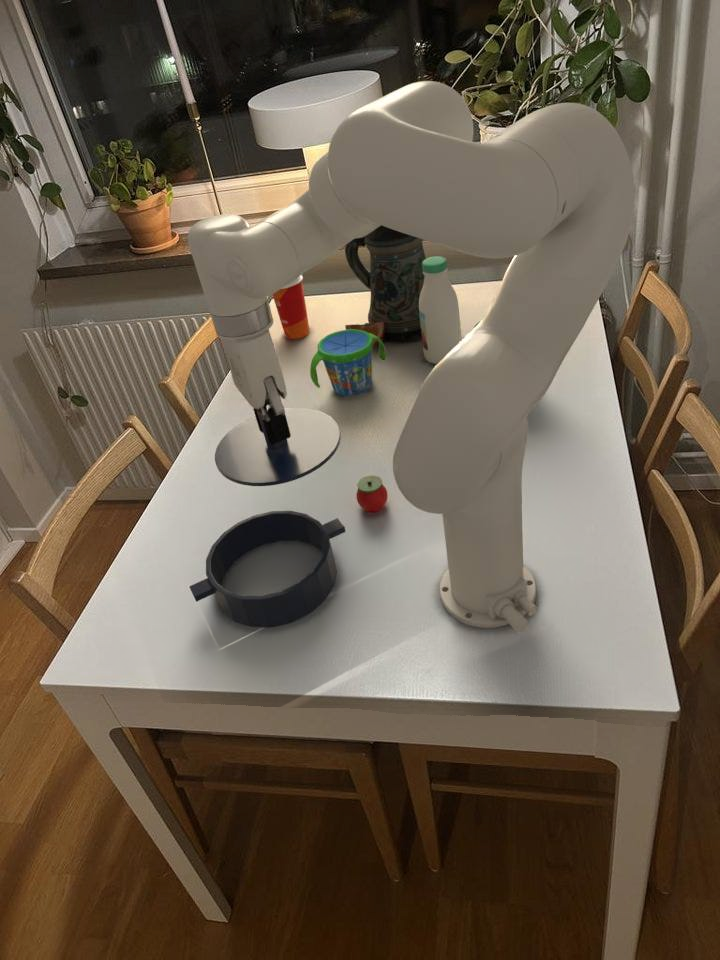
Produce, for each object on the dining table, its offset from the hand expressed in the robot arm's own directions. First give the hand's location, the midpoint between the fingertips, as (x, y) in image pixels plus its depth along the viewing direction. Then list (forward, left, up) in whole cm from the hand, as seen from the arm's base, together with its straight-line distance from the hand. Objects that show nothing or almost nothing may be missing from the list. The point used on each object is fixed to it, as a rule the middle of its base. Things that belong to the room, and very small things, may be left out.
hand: (275, 433), depth 105 cm
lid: (0, 0, -2) cm, 2 cm away
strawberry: (-5, -11, -17) cm, 21 cm away
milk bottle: (+28, -45, -17) cm, 55 cm away
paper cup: (+60, -26, -17) cm, 67 cm away
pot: (-10, +8, -17) cm, 21 cm away
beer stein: (+46, -45, -17) cm, 66 cm away
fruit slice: (+44, -36, -14) cm, 58 cm away
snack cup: (+30, -25, -17) cm, 42 cm away
